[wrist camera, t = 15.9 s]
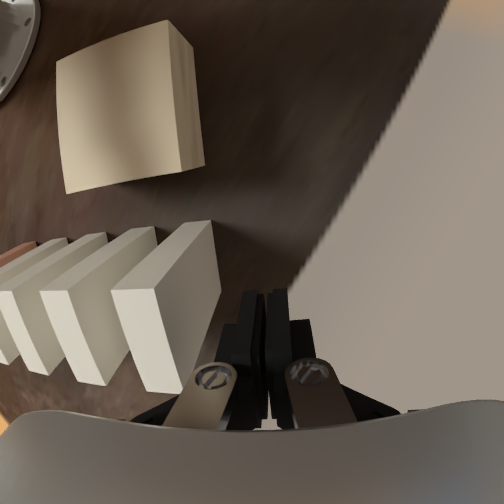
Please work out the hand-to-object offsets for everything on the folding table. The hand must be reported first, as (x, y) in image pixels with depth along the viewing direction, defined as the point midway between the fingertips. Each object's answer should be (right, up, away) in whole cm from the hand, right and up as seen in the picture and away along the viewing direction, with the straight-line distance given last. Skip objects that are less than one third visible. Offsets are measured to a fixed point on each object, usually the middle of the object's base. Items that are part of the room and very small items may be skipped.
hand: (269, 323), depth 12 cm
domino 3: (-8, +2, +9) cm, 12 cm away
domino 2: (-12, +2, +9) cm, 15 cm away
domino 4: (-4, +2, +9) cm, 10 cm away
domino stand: (-7, +12, +6) cm, 15 cm away
